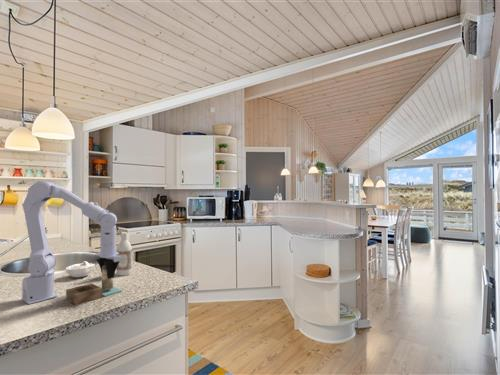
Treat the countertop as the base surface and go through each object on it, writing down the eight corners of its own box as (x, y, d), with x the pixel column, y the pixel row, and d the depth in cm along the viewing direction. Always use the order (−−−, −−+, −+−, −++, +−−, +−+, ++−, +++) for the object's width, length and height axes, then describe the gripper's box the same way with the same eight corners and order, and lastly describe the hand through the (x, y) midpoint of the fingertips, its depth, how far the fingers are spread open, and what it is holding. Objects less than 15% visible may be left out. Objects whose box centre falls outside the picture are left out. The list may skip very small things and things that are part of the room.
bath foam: (114, 276, 135) (114, 234, 135) (117, 272, 142) (118, 231, 142) (130, 275, 137) (130, 233, 137) (132, 271, 144) (133, 231, 144)
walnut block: (76, 305, 102) (76, 295, 102) (66, 298, 108) (66, 289, 108) (101, 297, 109) (102, 288, 109) (91, 292, 115) (91, 283, 115)
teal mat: (104, 296, 110) (104, 295, 110) (93, 291, 115) (93, 290, 115) (122, 291, 115) (122, 290, 115) (111, 286, 121) (111, 285, 121)
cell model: (62, 277, 134) (62, 262, 134) (89, 271, 143) (89, 258, 143) (69, 281, 127) (69, 266, 127) (98, 275, 136) (98, 261, 136)
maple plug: (104, 290, 112) (105, 267, 113) (99, 288, 115) (100, 265, 115) (114, 288, 116) (115, 265, 116) (109, 285, 118) (110, 264, 118)
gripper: (127, 243, 114) (127, 277, 114) (109, 239, 123) (109, 271, 123) (109, 246, 109) (109, 282, 109) (92, 242, 118) (92, 275, 117)
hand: (108, 276), depth 115 cm, fingers closed on maple plug, 4 cm apart
